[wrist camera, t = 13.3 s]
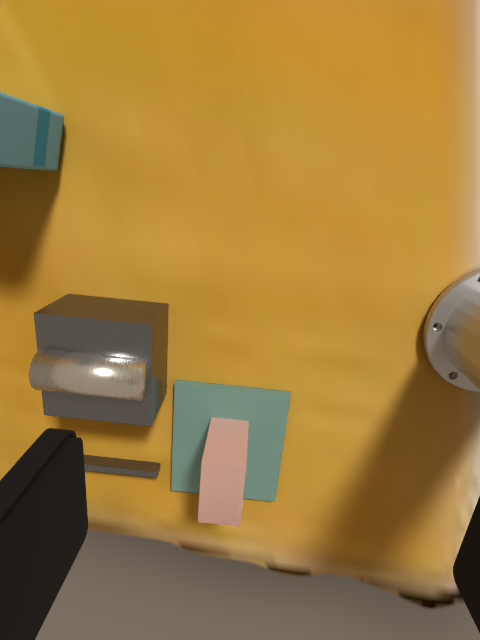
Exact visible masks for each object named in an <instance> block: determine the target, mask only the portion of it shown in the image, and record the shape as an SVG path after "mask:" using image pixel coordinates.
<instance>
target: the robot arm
mask: <svg viewBox="0 0 480 640" xmlns="http://www.w3.org/2000/svg"><path fill="white" fill-rule="evenodd" d="M479 277H480V268H479V269H476V270H474V271H472V272H470V273H468V274H465V275H464V276H462V277H461V278H459V279H458V280H456V281H455V282H453V283H452V284H451V285H450V286H449V287H447V288H446V289H445V290H444V291H443V292H442V293H441V295H440V296H439V297H438V298H437V300H436V301H435V302H434V304H433V306H432V308H431V309H430V311H429V313H428V316H427V319H426V322H425V325H424V332H423V343H424V350H425V353H426V356H427V359H428V360H429V362H430V364H431V365H432V367H433V368H434V369H435V370H436V371H437V373H438V374H439V375H440V376H441V377H442V378H444V379H445V380H446V381H447V382H449V383H451V384H453V385H454V386H456V387H458V388H461V389H465V390H468V391H474V392H480V278H479ZM478 278H479V280H478ZM435 323H436V324H435ZM434 324H435V325H434ZM433 325H434V326H433ZM87 529H88V516H87V501H86V485H85V469H84V454H83V441H82V439H81V438H77V437H76V433H75V432H74V431H72V430H63V429H54V428H49V429H46V430H45V431H44V432H43V433H42V434H41V435H40V437H39V438H38V439H37V440H36V441H35V442H34V443H33V444H32V446H31V447H30V448H29V449H28V450H27V451H26V452H25V453H24V455H23V456H22V457H21V458H20V459H19V460H18V461H17V462H16V464H15V465H14V466H13V467H12V468H11V469H10V470H9V471H8V473H7V474H6V475H5V476H4V477H3V478H2V479H1V481H0V640H35V638H36V636H37V634H38V632H39V630H40V628H41V626H42V624H43V622H44V620H45V618H46V616H47V614H48V612H49V610H50V608H51V606H52V604H53V602H54V600H55V598H56V596H57V594H58V592H59V590H60V588H61V586H62V584H63V582H64V580H65V578H66V576H67V574H68V572H69V570H70V568H71V566H72V564H73V562H74V560H75V558H76V556H77V554H78V552H79V550H80V548H81V546H82V544H83V542H84V540H85V537H86V534H87ZM453 575H454V579H455V583H456V585H457V587H458V589H459V591H460V593H461V595H462V597H463V599H464V602H465V604H466V606H467V608H468V610H469V611H470V614H471V616H472V618H473V620H474V622H475V624H476V626H477V628H478V630H479V632H480V497H479V499H478V502H477V505H476V507H475V510H474V512H473V515H472V518H471V520H470V523H469V526H468V528H467V531H466V534H465V536H464V539H463V542H462V544H461V547H460V550H459V552H458V555H457V558H456V560H455V563H454V566H453Z"/></svg>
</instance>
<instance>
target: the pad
mask: <svg viewBox="0 0 480 640" xmlns="http://www.w3.org/2000/svg"><path fill="white" fill-rule="evenodd" d="M289 402H290V392H289V391H280V390H270V389H260V388H250V387H241V386H231V385H221V384H212V383H202V382H192V381H183V380H176V381H175V384H174V415H173V447H172V478H171V490H172V491H181V492H190V493H199V494H200V479H201V463H202V458H203V453H204V449H205V444H206V439H207V435H208V430H209V426H210V421H211V417H215V418H225V419H234V420H244V421H249V428H248V446H247V464H246V474H245V483H244V492H243V498H245V499H254V500H263V501H272V502H275V496H276V489H277V482H278V476H279V469H280V462H281V455H282V449H283V442H284V435H285V428H286V422H287V415H288V408H289Z"/></svg>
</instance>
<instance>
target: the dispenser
mask: <svg viewBox="0 0 480 640" xmlns="http://www.w3.org/2000/svg"><path fill="white" fill-rule="evenodd" d="M34 320H35V330H36V340H37V350H38V352H37V353H36V354H35V356H34V358H33V360H32V362H31V365H30V370H29V380H30V384H31V386H32V388H33V389H35V390H42V399H43V409H44V415H49V416H58V417H68V418H77V419H86V420H96V421H105V422H115V423H124V424H134V425H143V426H151V425H152V423H153V421H154V419H155V417H156V414H157V412H158V410H159V408H160V406H161V404H162V401H163V399H164V397H165V395H166V388H167V346H168V304H165V303H155V302H145V301H135V300H125V299H115V298H104V297H94V296H84V295H74V294H67V295H65V296H63V297H62V298H60V299H58V300H56V301H54V302H53V303H51V304H49V305H47V306H45V307H44V308H42V309H40V310H38V311H37V312H35V313H34ZM84 469H85V470H86V471H96V472H105V473H114V474H123V475H132V476H141V477H151V478H157V477H158V474H159V471H160V463H154V462H145V461H135V460H126V459H117V458H108V457H98V456H89V455H84Z"/></svg>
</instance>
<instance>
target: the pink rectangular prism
mask: <svg viewBox="0 0 480 640" xmlns="http://www.w3.org/2000/svg"><path fill="white" fill-rule="evenodd" d="M248 428H249V421H244V420H234V419H225V418H215V417H211V421H210V426H209V430H208V435H207V439H206V444H205V449H204V453H203V458H202V463H201V479H200V495H199V510H198V522H202V523H211V524H220V525H229V526H238V527H240V519H241V510H242V504H243V492H244V483H245V474H246V464H247V446H248Z"/></svg>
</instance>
